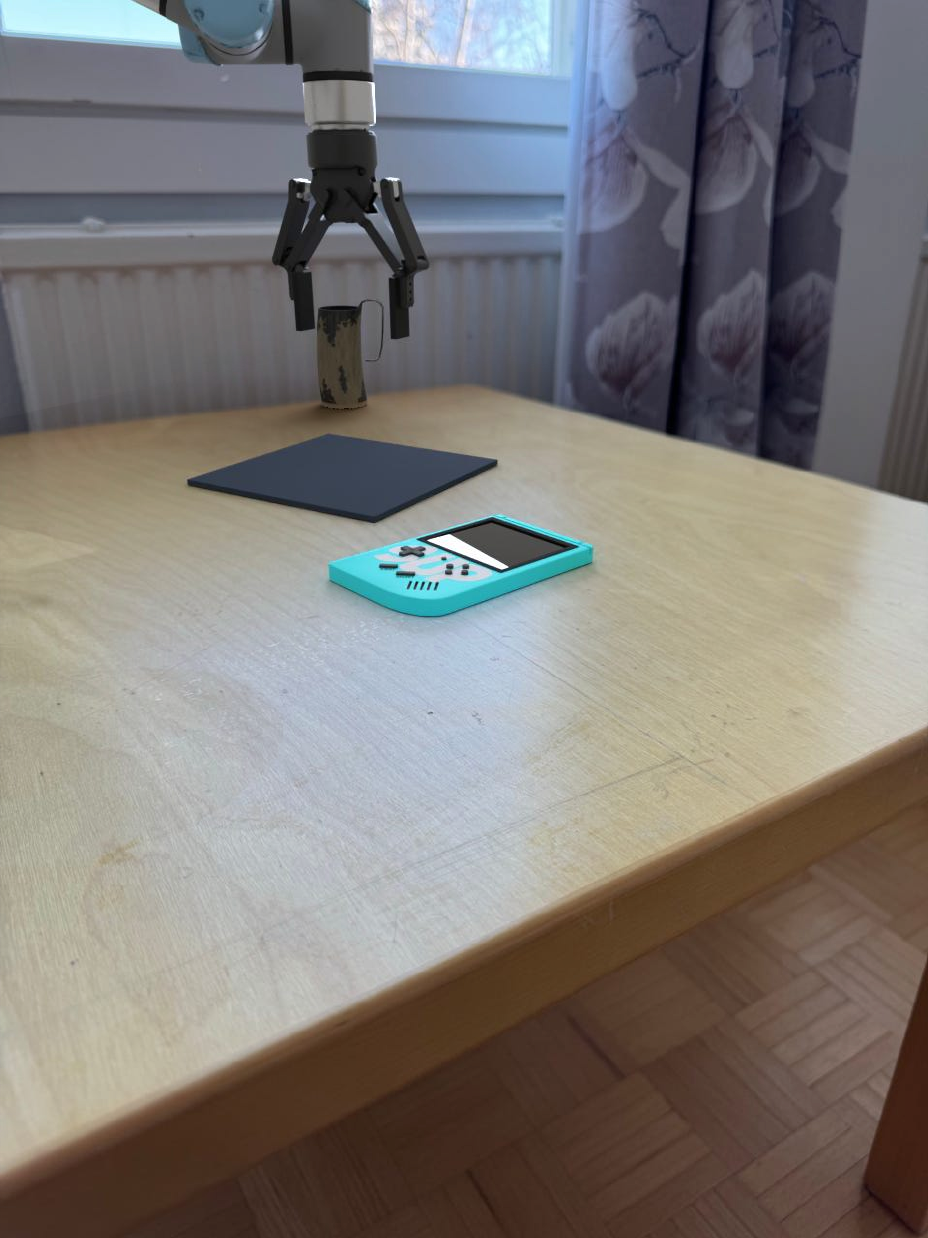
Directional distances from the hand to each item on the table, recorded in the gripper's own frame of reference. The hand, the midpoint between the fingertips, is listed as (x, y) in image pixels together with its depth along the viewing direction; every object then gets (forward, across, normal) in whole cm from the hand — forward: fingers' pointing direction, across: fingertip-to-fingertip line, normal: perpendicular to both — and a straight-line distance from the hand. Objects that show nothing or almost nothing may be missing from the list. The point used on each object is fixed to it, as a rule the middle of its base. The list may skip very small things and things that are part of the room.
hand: (351, 333), depth 112 cm
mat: (+8, -18, +25) cm, 32 cm away
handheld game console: (+8, -39, +40) cm, 56 cm away
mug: (+8, 0, 0) cm, 8 cm away
